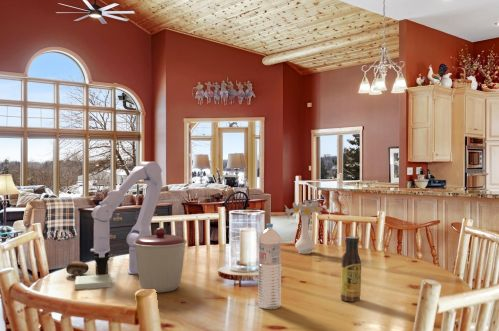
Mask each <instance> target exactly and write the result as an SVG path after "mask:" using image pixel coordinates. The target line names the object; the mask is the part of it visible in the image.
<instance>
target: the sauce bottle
mask: <svg viewBox="0 0 499 331" xmlns="http://www.w3.org/2000/svg"><path fill="white" fill-rule="evenodd" d="M359 240H360V239H359V237H357V236H346V237H345V252H344V253H343V255H342V257H341V267H340V299H341V300H342V301H344V302H350V303H352V302H353V303H355V302H359V301H360V300H361V292H362V291H361V287H362V261H361V257H360V255H359V249H358V247H359Z"/></svg>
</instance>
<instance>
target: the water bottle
mask: <svg viewBox="0 0 499 331" xmlns="http://www.w3.org/2000/svg"><path fill="white" fill-rule="evenodd" d="M273 227H274V225H273V223H266V229H265V230H263V231H262V232H261V233H260V234H259V236H258V264H257V265H258V271H257V272H258V273H257V274H258V288H257V290H258V294H257V295H258V300H257V301H258V306H259V308H261V309H265V310H276V309H279V308H280V307H281V305H282V303H281V302H282V300H281V299H282V263H281V262H282V258H281V253H282V252H281V251H282V250H281V249H282V248H281V245H282V244H281V243H282V238H281V236H280V234H279V233H278V232H277V230H275V229H274V228H273Z"/></svg>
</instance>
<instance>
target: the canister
mask: <svg viewBox="0 0 499 331" xmlns="http://www.w3.org/2000/svg"><path fill="white" fill-rule="evenodd" d="M187 243H188V240H187V239H186V238H184V237H182V236H179V235H176V234H166V229H165V228H164V227H158V228H156V229H155V231H154V234H151V235H149V236H144V237H140V238H138V239H137V240H136V241H134V242H133V244H134V245H135V248H136V258H137V267H138V274H137V275H138V281H139V284H140V287H141V289H142V290H143V289H155V290H156V291H157V293H156V294H158V293H159V294H160V293H168V292H173V291H176V290H177V289H178V288H179V287H180V284H181V280H182V275H183V274H182V273H183V266H184V257H185V248H186V246H185V245H186V244H187Z"/></svg>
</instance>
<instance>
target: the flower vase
mask: <svg viewBox="0 0 499 331" xmlns="http://www.w3.org/2000/svg"><path fill="white" fill-rule="evenodd" d="M284 207H285V209H284V210H285V213H286V214H287V216H286V217H287V220H289V219H290V215H291V213H292V215H291V216H292V217H293V218H294V217H296V215H297V214H299V213H300V218H301V233H300V236H299V238H298V240H297V241H296V243H295V244H294V245H295V246H294V247H295V249H296V250H297V251H298V253H299V254H303V255H304V254H305V255H307V254H312V251H313V250H314V249H315V247H316V246H315V243H314V241H313V240H312V239H311V237H310V232H309V220H312V213H313V214H314V213H318V214H319V215H320V216H323V213H322V212H321V211H323V210H324V209H323V207H322V206H319V201H318V200H316V201H312V202H308V200H305V201H304V204H303V201H300V202H299V203H298V204H297V203H296V202H293V203H292V208H288V207H287V205H284Z"/></svg>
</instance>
